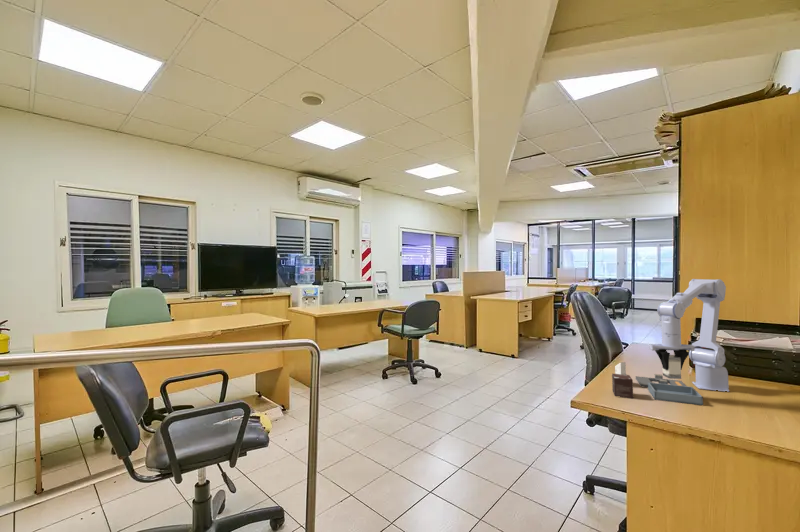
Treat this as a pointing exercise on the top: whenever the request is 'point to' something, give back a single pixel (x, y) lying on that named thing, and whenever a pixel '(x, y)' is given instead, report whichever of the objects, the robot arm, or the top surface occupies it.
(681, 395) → the tray
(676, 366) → the tan rectangular block
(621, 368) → the white wedge bracket
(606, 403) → the top surface
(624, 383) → the box
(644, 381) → the frame
